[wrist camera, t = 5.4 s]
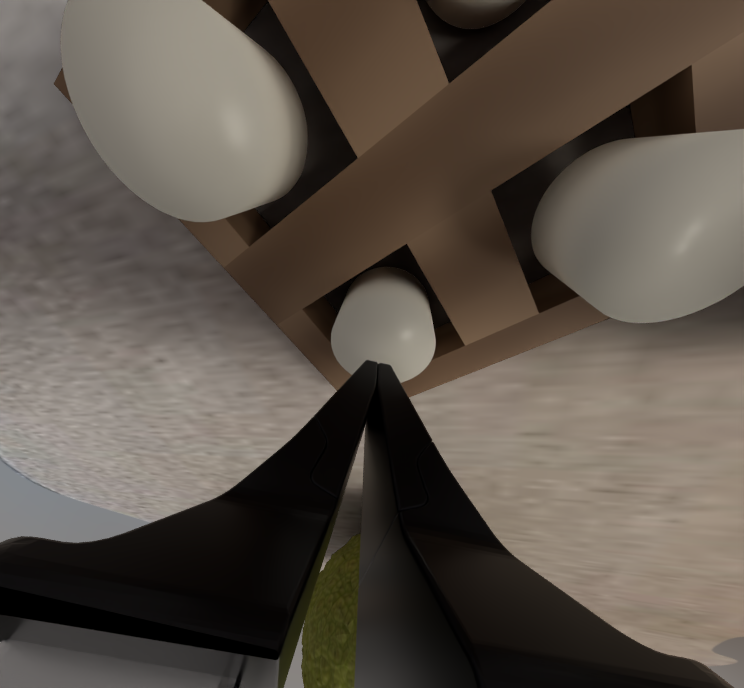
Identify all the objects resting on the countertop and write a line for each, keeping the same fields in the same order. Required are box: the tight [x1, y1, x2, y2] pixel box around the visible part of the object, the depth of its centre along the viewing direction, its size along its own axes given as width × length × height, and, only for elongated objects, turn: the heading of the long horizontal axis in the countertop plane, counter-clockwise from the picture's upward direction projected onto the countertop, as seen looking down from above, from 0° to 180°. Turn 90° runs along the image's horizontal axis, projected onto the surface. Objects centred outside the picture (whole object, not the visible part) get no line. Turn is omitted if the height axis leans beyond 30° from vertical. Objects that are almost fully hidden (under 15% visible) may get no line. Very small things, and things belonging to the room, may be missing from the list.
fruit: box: [301, 533, 361, 688], centre depth 21 cm, size 16×14×15 cm
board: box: [54, 0, 744, 397], centre depth 10 cm, size 16×16×2 cm
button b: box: [331, 267, 436, 383], centre depth 12 cm, size 4×4×3 cm
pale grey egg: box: [531, 129, 744, 323], centre depth 7 cm, size 4×4×3 cm
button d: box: [60, 0, 308, 222], centre depth 7 cm, size 4×4×3 cm
